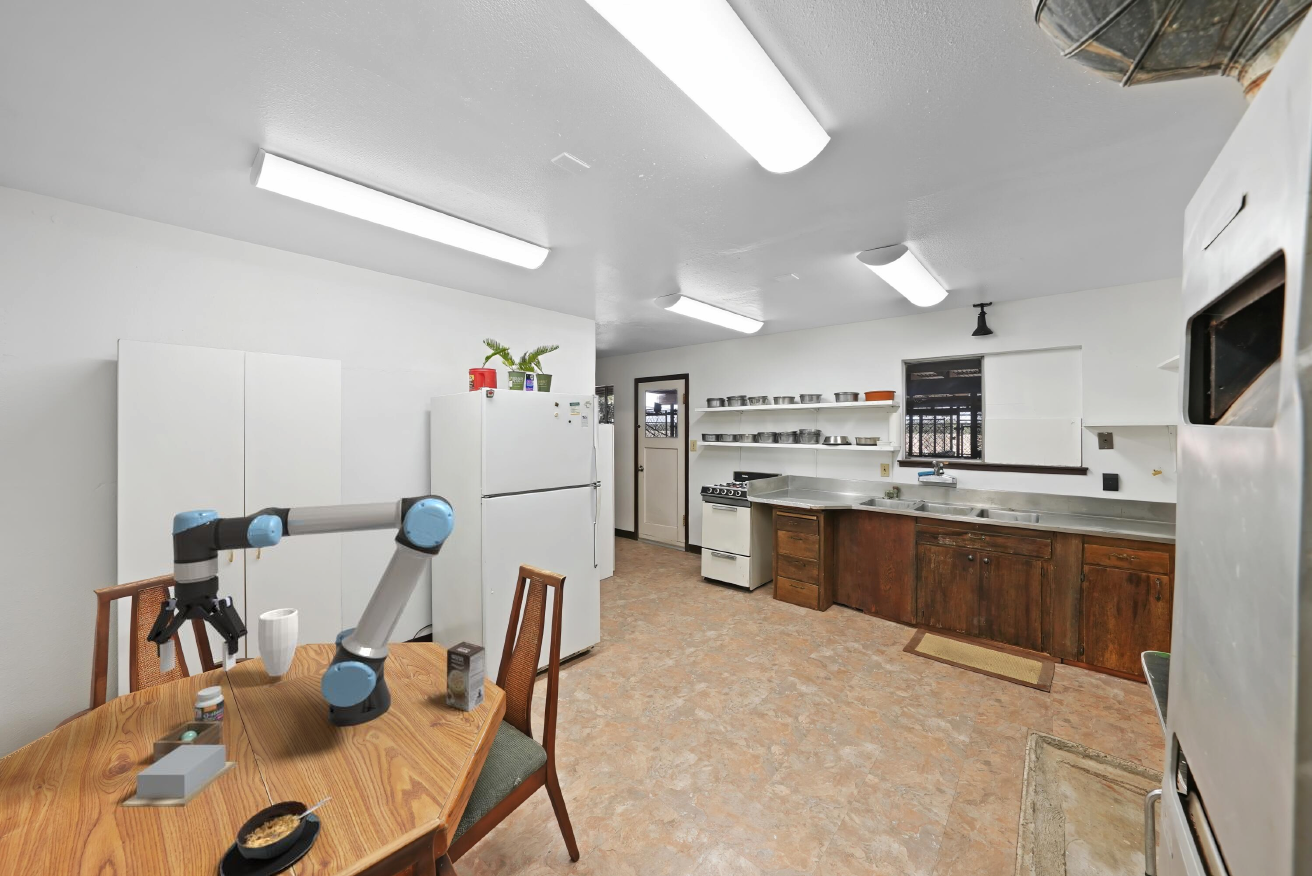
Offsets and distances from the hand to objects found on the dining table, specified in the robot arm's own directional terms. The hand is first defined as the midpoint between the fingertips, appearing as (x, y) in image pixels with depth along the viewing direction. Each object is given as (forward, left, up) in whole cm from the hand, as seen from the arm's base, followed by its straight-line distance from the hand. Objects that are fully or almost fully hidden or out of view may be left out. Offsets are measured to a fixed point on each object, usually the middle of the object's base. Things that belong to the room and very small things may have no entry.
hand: (198, 669), depth 114 cm
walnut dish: (+8, -6, -23) cm, 25 cm away
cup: (+12, -40, -23) cm, 48 cm away
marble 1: (+10, -8, -22) cm, 26 cm away
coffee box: (-51, -28, -23) cm, 63 cm away
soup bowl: (-35, +22, -24) cm, 47 cm away
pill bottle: (+12, -16, -23) cm, 31 cm away
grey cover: (-1, +5, -23) cm, 23 cm away
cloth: (-1, +5, -23) cm, 24 cm away
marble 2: (+8, -4, -22) cm, 23 cm away
